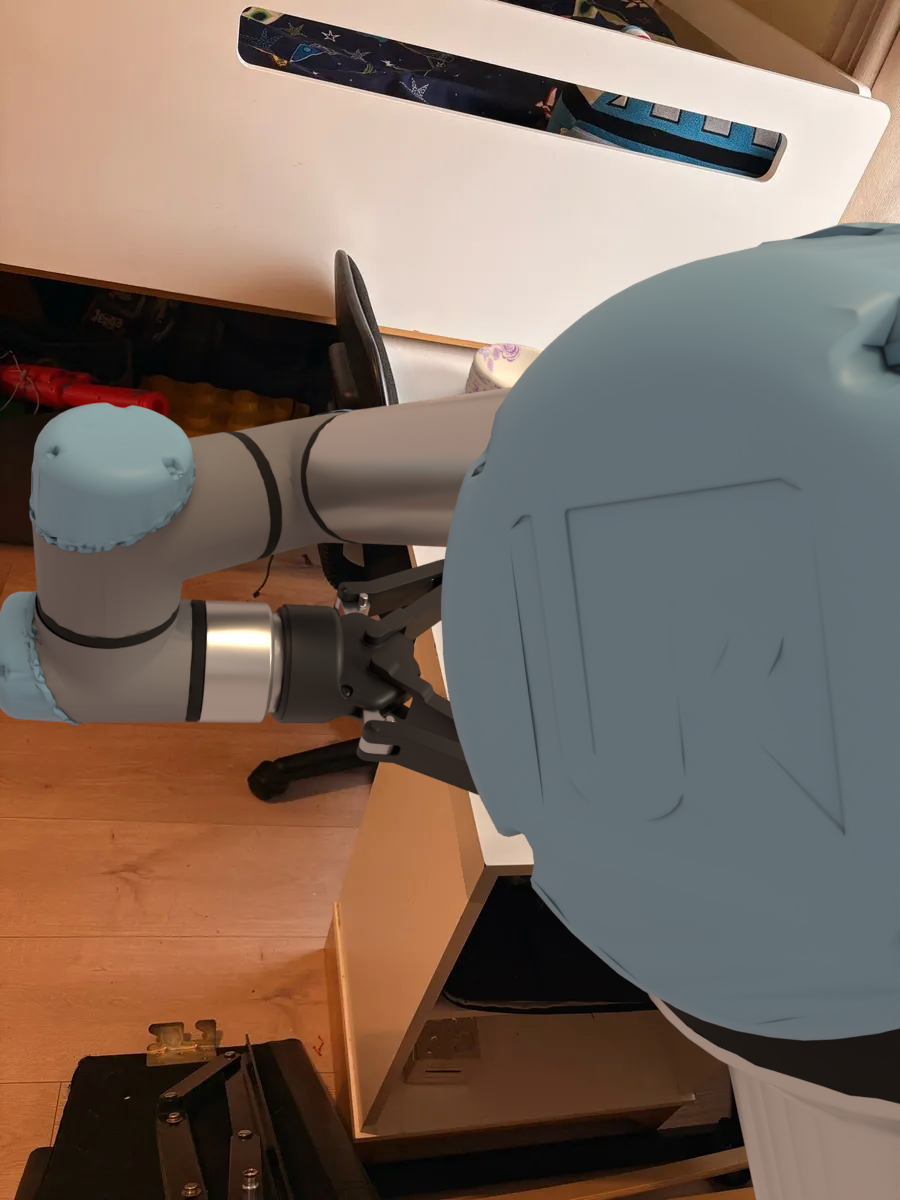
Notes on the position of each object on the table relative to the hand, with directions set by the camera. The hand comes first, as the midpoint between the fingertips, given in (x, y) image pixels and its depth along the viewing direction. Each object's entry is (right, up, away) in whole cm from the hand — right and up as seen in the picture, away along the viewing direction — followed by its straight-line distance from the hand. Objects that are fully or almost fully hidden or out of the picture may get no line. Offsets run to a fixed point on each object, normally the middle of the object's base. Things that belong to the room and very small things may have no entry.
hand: (575, 671), depth 63 cm
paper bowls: (-1, +28, +54) cm, 61 cm away
